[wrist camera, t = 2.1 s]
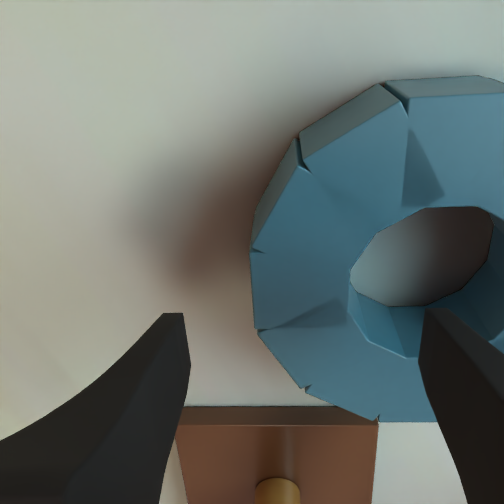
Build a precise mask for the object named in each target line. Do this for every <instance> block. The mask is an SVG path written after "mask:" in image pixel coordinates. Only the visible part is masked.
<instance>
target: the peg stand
mask: <svg viewBox="0 0 504 504" xmlns="http://www.w3.org/2000/svg"><path fill="white" fill-rule="evenodd" d="M378 427H379V424H378V420H377V417H376V418H375V419H374V421H371V420H369V419H367V418H364V417H362V416H359V415H357V414H355V413H352V412H350V411H348V410H345V409H343V408H340V407H183V409H182V413H181V416H180V420H179V423H178V426H177V430H176V433H175V439H176V444H177V449H178V454H179V459H180V465H181V470H182V475H183V480H184V485H185V490H186V495H187V500H188V504H371V503H372V492H373V481H374V471H375V460H376V449H377V438H378Z"/></svg>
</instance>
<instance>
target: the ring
mask: <svg viewBox="0 0 504 504" xmlns="http://www.w3.org/2000/svg"><path fill="white" fill-rule="evenodd" d="M299 137H300V140H298V139H295V138H294V139H293V141H292V143H291V145H290V146H289V148H288V150H287V152H286V154H285V155H284V157H283V159H282V161H281V163H280V165H279V166H278V168H277V170H276V172H275V174H274V176H273V177H272V179H271V181H270V183H269V185H268V187H267V188H266V190H265V192H264V194H263V196H262V197H261V199H260V201H259V203H258V205H257V207H256V211H255V214H254V220H253V228H252V235H251V243H250V250H249V260H250V274H251V288H252V302H253V316H254V328H255V329H257V335H258V336H259V337H260V339H261V340H262V341H263V342H264V344H265V345H266V346H267V347H268V349H269V350H270V351H271V352H272V354H273V355H274V356H275V357H276V359H277V360H278V361H279V362H280V364H281V365H282V366H283V367H284V369H285V370H286V371H287V373H288V374H289V375H290V376H291V378H292V379H293V380H294V381H295V383H296V384H297V385H298V386H299V388H300V389H302V388H304V387H305V393H307V394H310V395H312V396H314V397H317V398H319V399H321V400H324V401H326V402H329V403H331V404H333V405H336V406H338V407H340V408H343V409H345V410H348V411H350V412H352V413H355V414H357V415H359V416H362V417H364V418H367V419H369V420H371V421H374V419H375V418H376V417H378V421H379V422H437V419H436V417H435V415H434V412H433V410H432V407H431V405H430V402H429V400H428V397H427V395H426V392H425V388H424V385H423V381H422V377H421V373H420V369H419V365H418V357H419V350H420V343H421V335H422V328H423V321H424V313H425V308H448V309H449V310H450V311H452V312H453V313H454V314H455V315H456V316H458V317H459V318H460V319H461V320H462V321H464V322H465V323H466V324H467V325H468V326H470V327H471V328H472V329H473V330H474V331H476V332H477V333H478V334H479V335H481V336H482V337H483V338H484V339H485V340H487V341H488V342H489V343H491V344H492V345H493V346H494V347H496V348H497V349H498V350H499V351H501V352H502V353H503V354H504V83H502V82H499V81H497V80H494V79H491V78H484V77H482V76H463V77H445V78H426V79H408V80H390V81H386V82H385V88H383V87H382V86H381V85H380V84H376V85H374V86H373V87H371V88H369V89H368V90H366V91H365V92H363V93H361V94H360V95H358V96H357V97H355V98H353V99H352V100H350V101H349V102H347V103H346V104H344V105H342V106H341V107H339V108H338V109H336V110H334V111H333V112H331V113H330V114H328V115H326V116H325V117H323V118H322V119H320V120H318V121H317V122H315V123H314V124H312V125H311V126H309V127H307V128H306V129H304V130H303V131H301V132H300V133H299ZM465 206H477V207H479V208H481V209H483V210H484V211H486V212H488V213H489V214H490V217H491V219H492V221H493V223H494V228H493V233H492V238H491V243H490V248H489V253H488V259H487V261H486V262H485V263H484V264H483V266H482V267H481V268H480V269H479V270H478V271H477V273H476V274H475V275H474V276H473V277H472V278H471V279H470V281H469V282H468V283H467V284H466V285H465V286H464V288H463V289H462V290H459V291H457V292H455V293H453V294H451V295H448V296H446V297H444V298H442V299H440V300H438V301H435V302H433V303H431V304H429V305H427V306H400V307H387V306H385V305H383V304H381V303H379V302H377V301H375V300H372V299H370V298H368V297H366V296H364V295H362V294H360V293H358V292H356V291H355V289H354V288H353V286H352V285H351V283H350V269H351V268H352V267H353V265H354V264H355V262H356V261H357V260H358V258H359V257H360V255H361V254H362V252H363V251H364V250H365V248H366V247H367V245H368V244H369V243H370V241H371V240H372V238H373V237H374V235H375V234H376V233H377V232H379V231H381V230H383V229H385V228H387V227H389V226H391V225H393V224H395V223H396V222H398V221H400V220H402V219H404V218H406V217H408V216H410V215H412V214H414V213H416V212H417V211H419V210H421V209H423V208H436V207H465Z"/></svg>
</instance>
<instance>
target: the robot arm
mask: <svg viewBox="0 0 504 504" xmlns="http://www.w3.org/2000/svg"><path fill="white" fill-rule="evenodd" d="M418 365H419V369H420V373H421V377H422V381H423V385H424V388H425V392H426V395H427V397H428V400H429V402H430V405H431V407H432V410H433V412H434V415H435V417H436V419H437V422H438V424H439V427H440V429H441V431H442V434H443V436H444V439H445V441H446V443H447V446H448V448H449V451H450V453H451V455H452V458H453V460H454V463H455V465H456V468H457V471H458V474H459V476H460V479H461V483H462V486H463V489H464V493H465V496H466V499H467V503H468V504H504V354H503V353H502V352H501V351H499V350H498V349H497V348H496V347H494V346H493V345H492V344H491V343H489V342H488V341H487V340H485V339H484V338H483V337H482V336H481V335H479V334H478V333H477V332H476V331H474V330H473V329H472V328H471V327H470V326H468V325H467V324H466V323H465V322H464V321H462V320H461V319H460V318H459V317H458V316H456V315H455V314H454V313H453V312H452V311H450V310H449V309H448V308H425V313H424V321H423V328H422V335H421V343H420V350H419V357H418ZM190 369H191V361H190V354H189V348H188V342H187V335H186V329H185V323H184V316H183V313H163V314H162V315H161V316H160V317H159V318H158V319H157V320H156V321H155V322H154V323H153V324H152V326H151V327H150V328H149V329H148V330H147V331H146V332H145V333H144V334H143V335H142V336H141V337H140V338H139V340H138V341H137V342H136V343H135V344H134V345H133V346H132V347H131V348H130V349H129V350H128V351H127V352H126V353H125V354H124V355H123V356H122V357H121V358H120V359H119V360H118V361H117V362H115V363H114V364H113V365H112V366H111V367H110V368H109V369H108V370H107V371H106V372H105V373H104V374H102V375H101V376H100V377H99V378H98V379H96V380H95V381H94V382H93V383H91V384H90V385H89V386H88V387H86V388H85V389H84V390H82V391H81V392H80V393H78V394H77V395H76V396H74V397H73V398H72V399H70V400H69V401H67V402H66V403H64V404H63V405H61V406H59V407H58V408H56V409H55V410H53V411H52V412H50V413H49V414H47V415H46V416H44V417H43V418H41V419H39V420H38V421H36V422H34V423H32V424H31V425H29V426H27V427H25V428H24V429H22V430H20V431H18V432H16V433H14V434H13V435H11V436H9V437H7V438H5V439H3V440H1V441H0V504H159V500H160V494H161V489H162V483H163V478H164V473H165V469H166V465H167V461H168V457H169V454H170V450H171V447H172V444H173V440H174V437H175V433H176V430H177V426H178V423H179V420H180V416H181V413H182V409H183V406H184V402H185V398H186V395H187V389H188V383H189V376H190Z"/></svg>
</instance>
